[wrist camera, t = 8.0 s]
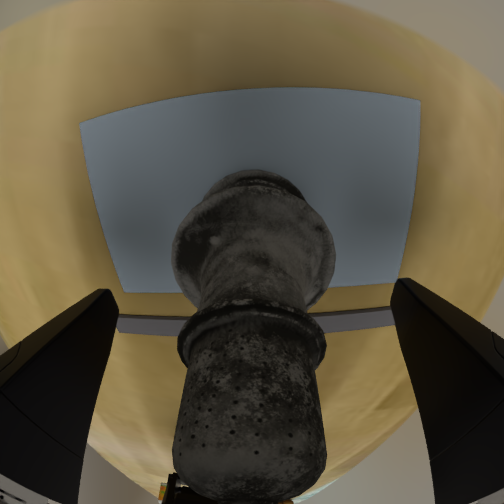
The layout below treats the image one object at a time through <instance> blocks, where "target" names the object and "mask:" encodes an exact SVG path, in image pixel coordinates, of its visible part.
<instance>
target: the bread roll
mask: <svg viewBox="0 0 504 504" xmlns="http://www.w3.org/2000/svg"><path fill="white" fill-rule="evenodd" d="M278 504H294V503H293V501H292V500H285V501H281V502H278Z"/></svg>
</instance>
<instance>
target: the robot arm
mask: <svg viewBox="0 0 504 504" xmlns="http://www.w3.org/2000/svg"><path fill="white" fill-rule="evenodd" d="M390 306H391V310H392V314H393V318H394V322H395V326H396V331H397V335H398V339H399V343H400V347H401V351H402V354H403V357H404V360H405V363H406V366H407V370H408V373H409V376H410V379H411V383H412V386H413V390H414V393H415V397H416V401H417V405H418V409H419V412H420V416H421V421H422V425H423V429H424V434H425V439H426V444H427V449H428V454H429V460H430V466H431V473H432V480H433V488H434V496H435V504H469V503H472V502H474V501H477V500H478V503H476V504H504V339H503V338H501V337H500V336H498V335H497V334H496V333H494V332H491V330H490V329H488V328H487V327H485V326H484V325H482V324H481V323H480V322H478V321H477V320H475V319H474V318H472V317H471V316H469V315H468V314H466V313H465V312H463V311H462V310H460V309H459V308H457V307H456V306H454V305H452V304H451V303H449V302H448V301H446V300H445V299H443V298H441V297H440V296H438V295H437V294H435V293H433V292H432V291H430V290H429V289H427V288H425V287H424V286H422V285H420V284H419V283H417V282H416V281H414V280H412V279H411V278H399V279H397V280H396V282H395V285H394V289H393V292H392V296H391V300H390ZM118 317H119V308H118V306H117V303H116V301H115V299H114V296H113V294H112V292H111V291H110V290H109V289H97V290H96V291H94V292H93V293H91V294H89V295H88V296H86V297H85V298H83V299H82V300H80V301H79V302H77V303H76V304H74V305H72V306H71V307H69V308H68V309H66V310H65V311H63V312H62V313H60V314H59V315H57V316H56V317H54V318H53V319H52V320H50V321H49V322H47V323H46V324H44V325H43V326H41V327H40V328H38V329H37V330H36V331H34V332H33V333H31V334H30V335H28V336H27V337H26V338H24V339H23V340H22V341H20V342H19V343H17V344H16V345H14V346H13V347H12V348H10V349H9V350H7V351H6V352H5V353H3V354H2V355H0V504H49V503H48V499H51V500H53V501H56V502H59V503H61V504H78V495H79V486H80V479H81V472H82V466H83V458H84V453H85V448H86V443H87V438H88V434H89V429H90V425H91V420H92V416H93V412H94V408H95V404H96V400H97V396H98V393H99V389H100V385H101V382H102V378H103V375H104V371H105V368H106V365H107V362H108V358H109V355H110V351H111V347H112V342H113V338H114V333H115V329H116V325H117V321H118ZM181 484H182V485H186V484H185V483H184V482H182V480H181V479H180V477H179V476H178V474H177V473H173V474H169V476H168V482H167V487H166V490H165V493H164V497H163V500H162V503H161V504H218V503H217V502H218V501H216V500H213V499H210V498H207V497H205V496H202V495H200V494H198V493H196V492H195V491H194V490H192V489H191V488H190V487H185V486H183V487H180V486H181Z"/></svg>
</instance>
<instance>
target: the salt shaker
mask: <svg viewBox="0 0 504 504" xmlns="http://www.w3.org/2000/svg"><path fill="white" fill-rule="evenodd" d="M335 261H336V251H335V246H334V241H333V236H332V234H331V232H330V230H329V229H328V227H327V225H326V223H325V222H324V220H323V218H322V216H320V215H319V214H318V213H317V212H316V211H315V210H314V209H313V208H312V207H311V206H310V205H309V204H308V203H307V202H306V200H305V198H304V197H303V195H302V193H301V192H300V190H299V189H298V188H297V187H296V186H295V185H293V184H292V183H291V182H290V181H289V180H288V179H286V178H284V177H282V176H280V175H278V174H276V173H273V172H268V171H263V170H242V171H239V172H236V173H233V174H230V175H227V176H226V177H224V178H223V179H221V180H220V181H218V182H217V183H215V184H214V185H213V186H212V187H211V189H210V190H209V191H208V192H207V193H206V194H205V196H204V198H203V200H202V202H200V203H199V204H197V205H196V206H195V207H193V208H192V209H191V211H190V212H189V213H188V214H187V216H186V217H185V218H184V219H183V221H182V222H181V223H180V224H179V227H178V229H177V232H176V234H175V237H174V240H173V242H172V251H171V265H172V269H173V273H174V276H175V280H176V282H177V284H178V285H179V287H180V289H181V290H182V292H183V294H184V295H185V296H186V297H187V298H188V299H189V300H190V301H191V302H192V303H193V305H194V306H195V307H197V308H198V311H197V312H196V313H195V314H194V315H193V316H192V317H191V318H190V319H188V320H187V321H186V322H185V323H184V325H183V327H182V329H181V331H180V333H179V335H178V340H177V351H178V353H179V356H180V358H181V361H182V362H183V363H184V365H185V366H186V367H187V368H188V369H187V374H186V379H185V384H184V389H183V394H182V399H181V404H180V409H179V414H178V420H177V425H176V430H175V436H174V442H173V447H172V456H173V465H174V469H175V471H176V472H177V474H178V476H179V477H180V479H181V480H182V482H184V483H185V484H186V485H187V486H189V487H190V488H191V489H192V490H194V491H195V492H196V493H198V494H200V495H202V496H205V497H207V498H210V499H213V500H216V501H218V502H217V503H218V504H278V502H281V501H285V500H288V499H291V498H294V497H296V496H299V495H300V494H302V493H303V492H305V491H306V490H308V489H309V488H310V487H312V486H313V485H314V484H315V483H316V482H317V480H318V479H319V477H320V476H321V474H322V473H323V471H324V470H325V466H326V459H327V451H326V443H325V435H324V428H323V421H322V414H321V407H320V400H319V394H318V387H317V381H316V375H315V370H316V369H317V368H318V366H319V365H320V363H321V362H322V360H323V359H324V356H325V352H326V347H327V345H326V340H325V336H324V332H323V330H322V328H321V327H320V326H319V324H318V323H317V322H316V320H315V319H314V318H312V317H311V316H309V315H308V314H307V310H308V309H309V308H311V307H312V306H313V305H314V304H316V303H317V301H318V300H319V299H320V298H321V296H322V295H323V294H324V293H325V291H326V290H327V288H328V286H329V284H330V282H331V279H332V277H333V274H334V270H335Z"/></svg>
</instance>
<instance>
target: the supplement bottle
mask: <svg viewBox="0 0 504 504" xmlns="http://www.w3.org/2000/svg"><path fill="white" fill-rule="evenodd" d="M166 487H167V484H166V483H161V487H160V492H159V498H158V502H159V503H160V504H161V503H162V500H163V497H164V493H165V490H166Z"/></svg>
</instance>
